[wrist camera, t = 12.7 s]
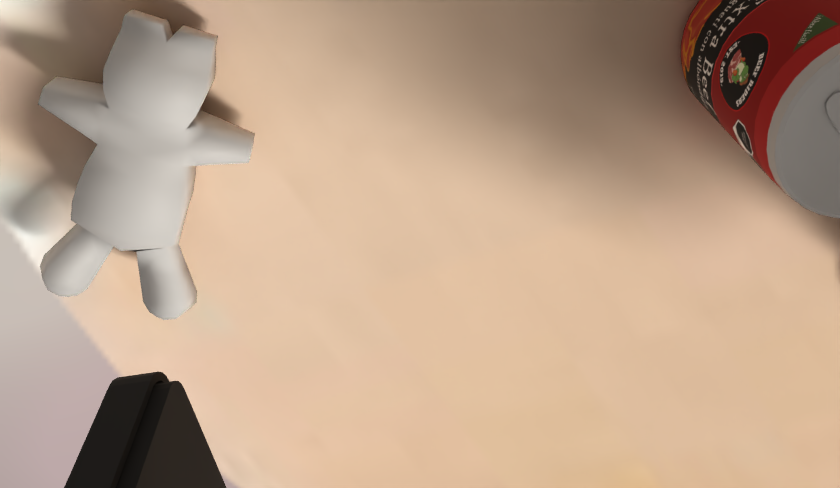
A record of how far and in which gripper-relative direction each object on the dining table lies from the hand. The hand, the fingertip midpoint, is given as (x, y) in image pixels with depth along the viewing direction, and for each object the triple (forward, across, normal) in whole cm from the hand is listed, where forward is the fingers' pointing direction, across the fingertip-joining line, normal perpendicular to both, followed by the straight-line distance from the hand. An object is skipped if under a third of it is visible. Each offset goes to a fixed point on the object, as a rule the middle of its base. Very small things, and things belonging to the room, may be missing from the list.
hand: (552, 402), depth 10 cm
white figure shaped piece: (+30, +16, +8) cm, 34 cm away
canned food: (+30, -15, +7) cm, 34 cm away
